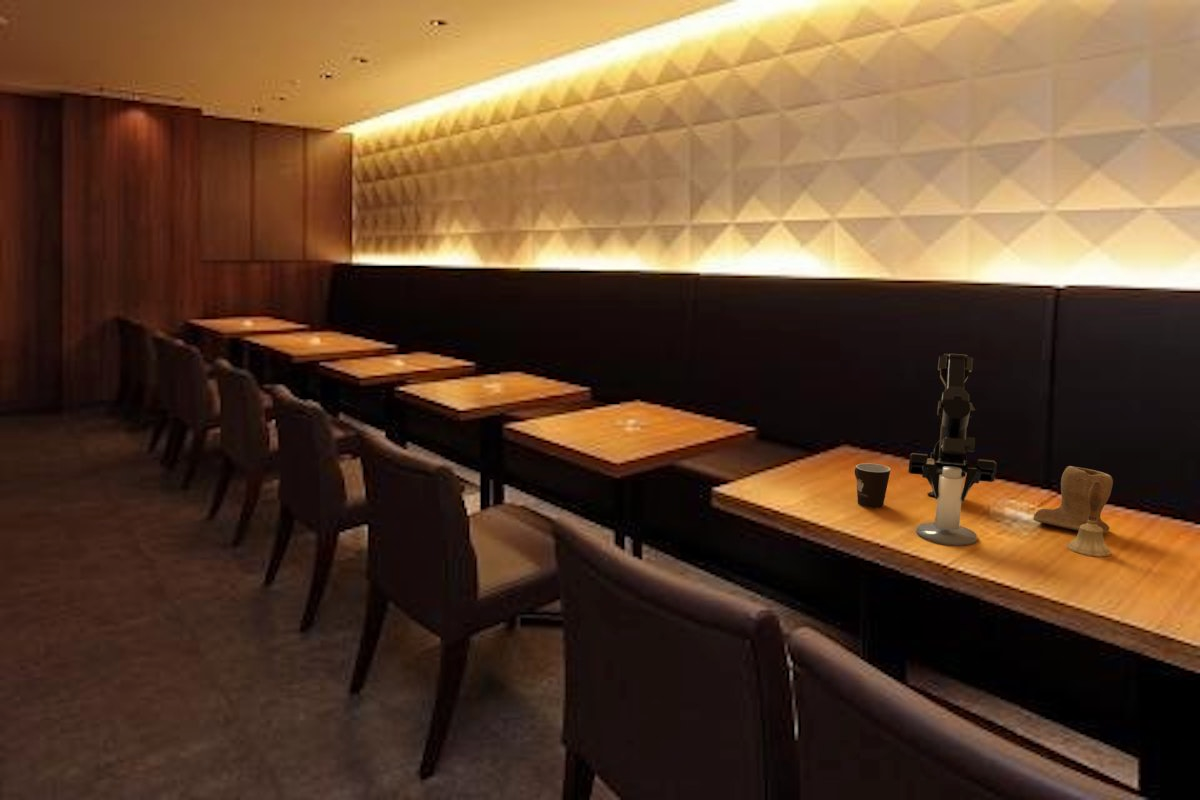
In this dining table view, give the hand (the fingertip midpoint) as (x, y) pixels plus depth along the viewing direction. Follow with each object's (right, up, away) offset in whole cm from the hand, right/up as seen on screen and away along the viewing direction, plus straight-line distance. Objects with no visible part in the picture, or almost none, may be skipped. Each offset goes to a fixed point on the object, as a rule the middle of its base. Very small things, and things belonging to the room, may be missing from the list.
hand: (949, 498), depth 182 cm
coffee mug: (-9, -5, +27) cm, 29 cm away
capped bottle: (0, -7, +3) cm, 7 cm away
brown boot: (+34, -8, +10) cm, 37 cm away
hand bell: (+29, -11, -5) cm, 31 cm away
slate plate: (0, -9, +3) cm, 10 cm away
